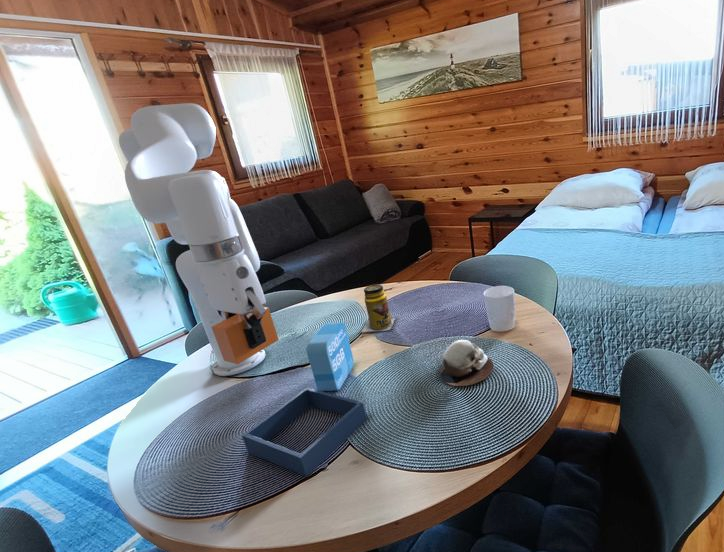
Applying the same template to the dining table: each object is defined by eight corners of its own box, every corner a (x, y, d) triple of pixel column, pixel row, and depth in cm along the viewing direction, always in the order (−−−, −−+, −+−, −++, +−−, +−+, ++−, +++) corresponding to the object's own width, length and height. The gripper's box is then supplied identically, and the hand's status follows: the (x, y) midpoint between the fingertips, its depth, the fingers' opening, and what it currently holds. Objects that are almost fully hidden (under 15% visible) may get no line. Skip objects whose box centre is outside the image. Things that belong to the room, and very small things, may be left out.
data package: (338, 393, 95) (325, 345, 90) (318, 394, 95) (304, 347, 91) (354, 363, 106) (344, 319, 101) (337, 364, 106) (325, 321, 102)
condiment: (390, 330, 121) (382, 290, 116) (360, 333, 121) (351, 293, 117) (395, 318, 127) (387, 281, 123) (367, 321, 128) (358, 284, 124)
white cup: (504, 316, 120) (501, 283, 116) (523, 325, 114) (520, 290, 110) (481, 326, 116) (477, 292, 112) (500, 336, 110) (496, 300, 106)
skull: (472, 345, 105) (485, 326, 96) (492, 383, 101) (507, 367, 93) (428, 361, 99) (438, 343, 91) (447, 403, 95) (459, 388, 87)
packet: (223, 360, 78) (210, 326, 75) (265, 337, 85) (254, 305, 83) (237, 364, 76) (225, 329, 74) (279, 340, 83) (268, 307, 81)
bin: (248, 452, 80) (241, 435, 79) (311, 402, 93) (306, 387, 91) (306, 476, 73) (300, 458, 71) (367, 418, 85) (362, 402, 84)
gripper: (268, 244, 72) (297, 339, 79) (208, 241, 80) (239, 328, 87) (228, 259, 66) (262, 361, 73) (167, 254, 74) (203, 346, 81)
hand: (249, 342), depth 80 cm, fingers closed on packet, 4 cm apart
